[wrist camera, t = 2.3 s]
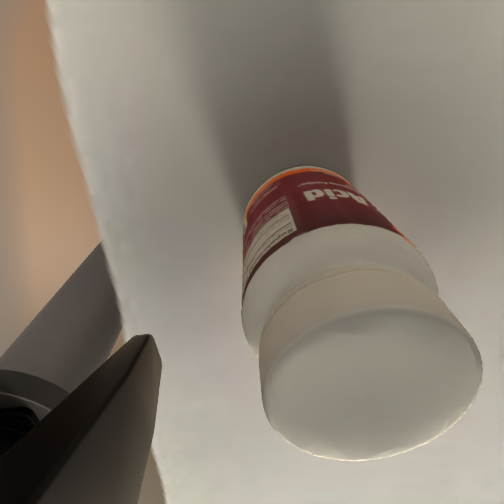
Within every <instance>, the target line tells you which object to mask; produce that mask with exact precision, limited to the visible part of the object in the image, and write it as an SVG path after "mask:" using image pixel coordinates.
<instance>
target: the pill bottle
mask: <svg viewBox="0 0 504 504" xmlns="http://www.w3.org/2000/svg"><path fill="white" fill-rule="evenodd" d="M242 278H243V284H242V311H241V316H242V324H243V328H244V332H245V336H246V339H247V341H248V343H249V345H250V347H251V349H252V351H253V352H254V354H255V355H256V357H257V358H258V360H259V367H260V380H261V392H262V400H263V406H264V410H265V413H266V416H267V418H268V420H269V422H270V424H271V426H272V427H273V428H274V430H275V431H276V432H277V433H278V434H279V435H280V436H281V437H282V438H283V439H284V440H286V441H287V442H288V443H290V444H291V445H292V446H294V447H296V448H298V449H300V450H302V451H305V452H308V453H310V454H312V455H315V456H319V457H323V458H329V459H335V460H343V461H364V460H374V459H379V458H386V457H390V456H394V455H397V454H400V453H403V452H406V451H409V450H412V449H414V448H416V447H419V446H421V445H424V444H426V443H428V442H430V441H432V440H433V439H435V438H437V437H438V436H440V435H441V434H443V433H444V432H445V431H447V430H448V429H449V428H450V427H452V426H453V425H454V424H455V423H456V422H457V421H458V420H459V419H460V418H461V417H462V416H463V415H464V414H465V412H466V411H467V410H468V409H469V407H470V406H471V405H472V404H473V402H474V400H475V398H476V396H477V394H478V391H479V387H480V385H481V381H482V370H483V369H482V360H481V356H480V352H479V350H478V348H477V345H476V344H475V342H474V340H473V338H472V337H471V336H470V334H469V333H468V331H467V330H466V329H465V328H464V327H463V325H462V324H461V323H460V322H459V321H458V319H457V318H456V317H455V316H454V315H453V314H452V312H451V311H450V310H449V309H448V307H447V306H446V304H445V303H444V302H443V301H442V299H441V298H440V297H439V296H438V288H437V284H436V280H435V277H434V274H433V272H432V270H431V268H430V266H429V264H428V263H427V261H426V260H425V258H424V257H423V255H422V254H421V252H420V251H419V250H418V249H417V248H416V247H415V246H414V245H413V244H412V243H411V242H410V241H409V240H408V239H407V238H406V237H405V236H404V235H403V234H401V233H400V232H399V231H398V230H397V229H396V228H395V227H394V226H393V225H392V224H391V223H390V222H389V221H388V220H387V219H386V218H385V217H384V216H383V215H382V214H381V213H380V212H379V211H378V210H377V209H376V207H374V206H373V205H372V204H371V203H370V202H369V201H368V200H367V199H366V198H365V197H364V196H362V195H361V194H360V193H359V192H358V191H357V190H356V189H355V188H354V187H353V186H352V185H351V184H350V183H349V182H348V181H347V180H345V179H344V178H343V177H342V176H340V175H338V174H337V173H335V172H333V171H331V170H328V169H325V168H321V167H316V166H299V167H293V168H289V169H286V170H284V171H281V172H279V173H277V174H275V175H274V176H272V177H271V178H269V179H268V180H267V181H265V182H264V183H263V184H262V185H261V186H260V187H259V188H258V189H257V190H256V192H255V193H254V194H253V196H252V197H251V199H250V201H249V203H248V205H247V208H246V211H245V215H244V222H243V275H242Z"/></svg>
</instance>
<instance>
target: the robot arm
mask: <svg viewBox="0 0 504 504" xmlns="http://www.w3.org/2000/svg"><path fill="white" fill-rule="evenodd" d="M161 369H162V363H161V358H160V355H159V352H158V349H157V346H156V343H155V340H154V338H153V336H152V335H150V334H144V335H136V336H134V337H132V338H131V339H130V340H129V341H128V342H127V343H125V344H124V345H123V346H122V347H121V348H120V349H119V350H118V351H117V352H116V353H114V354H113V355H112V356H111V357H110V358H109V359H108V360H107V361H106V362H105V363H104V364H102V365H101V366H100V367H99V368H98V369H97V370H96V371H95V372H94V373H93V374H91V375H90V376H89V377H88V378H87V379H86V380H85V381H84V382H83V383H82V384H81V385H79V386H78V387H77V388H76V389H75V390H74V391H73V392H72V393H71V394H70V395H68V396H67V397H66V398H65V399H64V400H63V401H62V402H61V403H60V404H59V405H58V406H56V407H55V408H54V409H53V410H52V411H51V412H50V413H49V414H48V415H47V416H45V417H44V418H43V419H42V420H41V421H39V419H38V418H37V416H36V414H35V413H34V412H33V411H32V410H31V409H29V408H27V407H16V408H7V409H0V504H137V503H138V499H139V495H140V490H141V486H142V482H143V477H144V473H145V469H146V464H147V460H148V456H149V451H150V447H151V443H152V438H153V433H154V427H155V420H156V411H157V403H158V395H159V386H160V378H161Z"/></svg>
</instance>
